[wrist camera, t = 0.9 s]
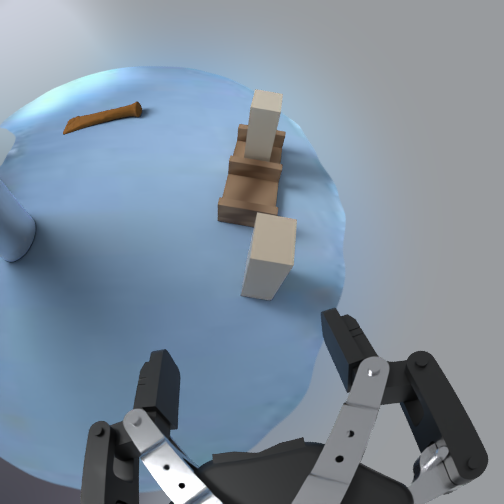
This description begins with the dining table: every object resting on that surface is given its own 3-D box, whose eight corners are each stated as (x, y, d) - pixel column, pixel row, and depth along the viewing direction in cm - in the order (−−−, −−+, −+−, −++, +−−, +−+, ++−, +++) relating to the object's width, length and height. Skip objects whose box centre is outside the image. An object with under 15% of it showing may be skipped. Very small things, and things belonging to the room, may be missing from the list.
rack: (217, 220, 40) (217, 204, 37) (237, 141, 48) (239, 123, 44) (272, 230, 41) (277, 214, 37) (281, 148, 48) (285, 132, 45)
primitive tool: (62, 136, 46) (57, 124, 43) (69, 121, 49) (65, 110, 46) (141, 120, 50) (138, 107, 46) (144, 106, 52) (142, 93, 49)
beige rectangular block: (240, 295, 36) (250, 258, 25) (246, 260, 38) (257, 212, 27) (271, 300, 36) (293, 265, 25) (275, 265, 38) (296, 219, 28)
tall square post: (243, 166, 44) (250, 107, 33) (247, 146, 46) (255, 89, 35) (267, 170, 44) (280, 112, 33) (270, 149, 46) (282, 94, 35)
